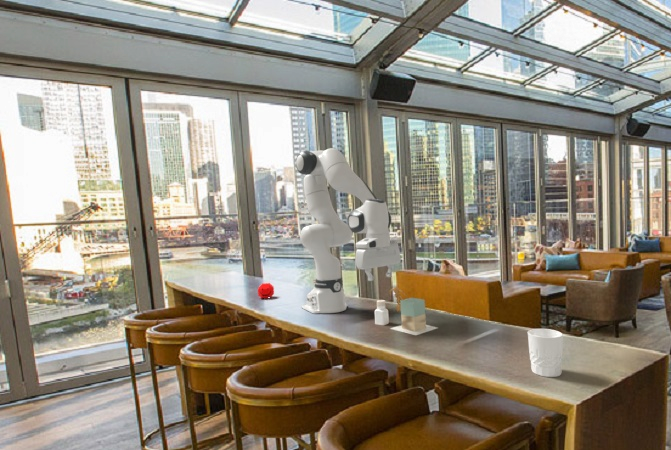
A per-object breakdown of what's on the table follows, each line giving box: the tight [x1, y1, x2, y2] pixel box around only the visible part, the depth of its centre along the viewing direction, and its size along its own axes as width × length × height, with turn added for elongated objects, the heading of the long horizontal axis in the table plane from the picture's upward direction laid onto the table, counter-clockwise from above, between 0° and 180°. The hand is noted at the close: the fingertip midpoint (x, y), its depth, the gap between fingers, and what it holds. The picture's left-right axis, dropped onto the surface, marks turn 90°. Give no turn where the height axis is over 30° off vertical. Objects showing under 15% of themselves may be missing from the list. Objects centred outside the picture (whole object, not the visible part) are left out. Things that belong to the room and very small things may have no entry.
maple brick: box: [400, 313, 427, 332], centre depth 143 cm, size 6×6×5 cm
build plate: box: [389, 324, 438, 336], centre depth 143 cm, size 12×12×1 cm
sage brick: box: [399, 297, 426, 317], centre depth 143 cm, size 6×6×5 cm
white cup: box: [527, 328, 564, 378], centre depth 102 cm, size 8×8×10 cm
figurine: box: [389, 284, 408, 313], centre depth 169 cm, size 8×6×12 cm
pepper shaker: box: [374, 299, 390, 326], centre depth 152 cm, size 4×4×10 cm
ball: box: [257, 282, 275, 299], centre depth 217 cm, size 8×8×8 cm
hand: (380, 278), depth 151 cm, fingers open, 8 cm apart
